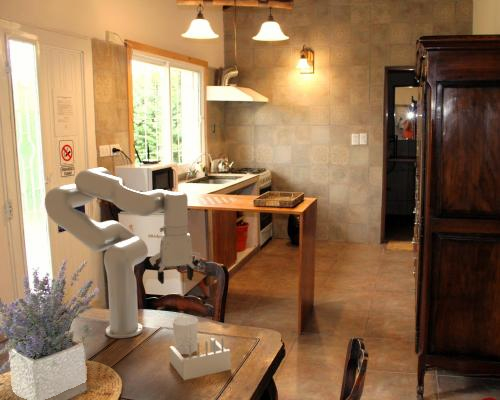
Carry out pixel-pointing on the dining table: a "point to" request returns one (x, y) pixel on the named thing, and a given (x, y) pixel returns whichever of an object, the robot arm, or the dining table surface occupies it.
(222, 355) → the drying rack
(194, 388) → the dining table surface
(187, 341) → the white cup
